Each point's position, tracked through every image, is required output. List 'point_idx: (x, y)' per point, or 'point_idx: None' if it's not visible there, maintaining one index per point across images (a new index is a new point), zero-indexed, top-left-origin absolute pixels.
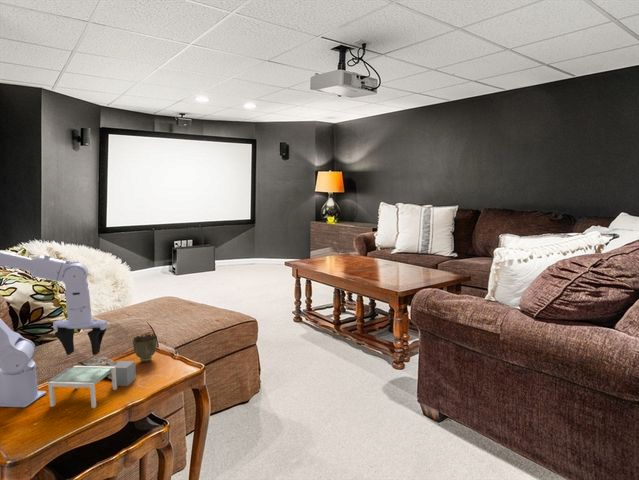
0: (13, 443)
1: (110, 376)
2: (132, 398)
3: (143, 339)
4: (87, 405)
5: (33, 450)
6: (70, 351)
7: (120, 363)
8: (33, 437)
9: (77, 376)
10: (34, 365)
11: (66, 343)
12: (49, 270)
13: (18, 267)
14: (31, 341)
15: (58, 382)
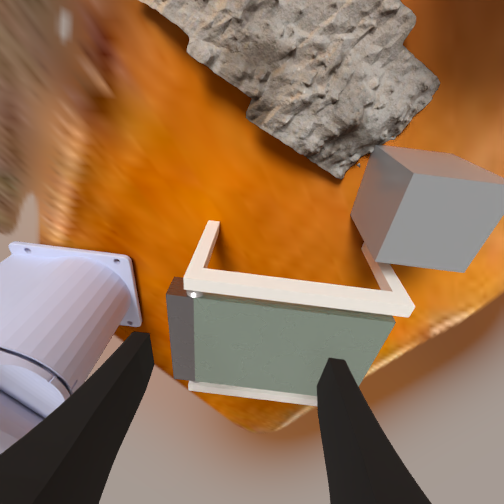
0: (229, 411)
1: (327, 157)
2: (441, 305)
3: None
4: None
5: (277, 425)
6: (146, 369)
7: (423, 213)
8: (253, 403)
9: (267, 366)
10: (57, 385)
11: (111, 460)
12: None
13: None
14: None
15: (223, 391)
